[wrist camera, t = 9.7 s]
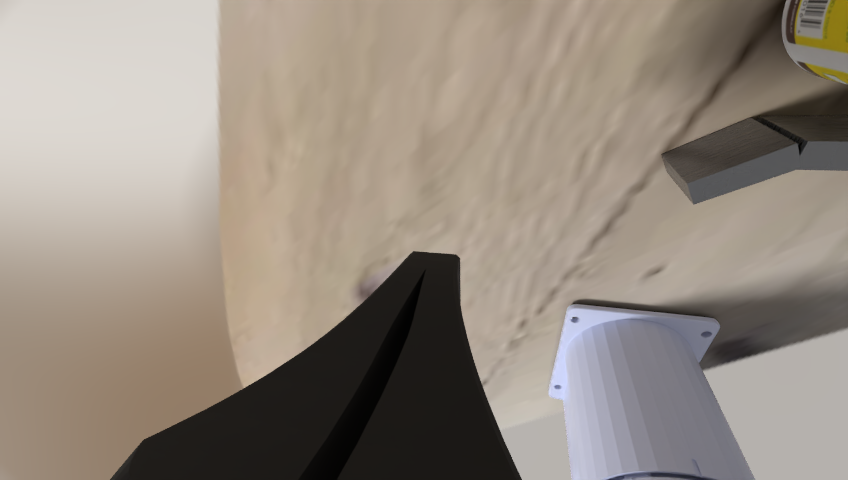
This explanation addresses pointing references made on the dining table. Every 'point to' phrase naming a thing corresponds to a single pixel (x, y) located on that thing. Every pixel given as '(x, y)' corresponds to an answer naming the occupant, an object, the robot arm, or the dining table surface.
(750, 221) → the dining table surface
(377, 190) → the dining table surface
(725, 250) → the dining table surface
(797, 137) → the stop cradle
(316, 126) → the dining table surface
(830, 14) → the supplement bottle
